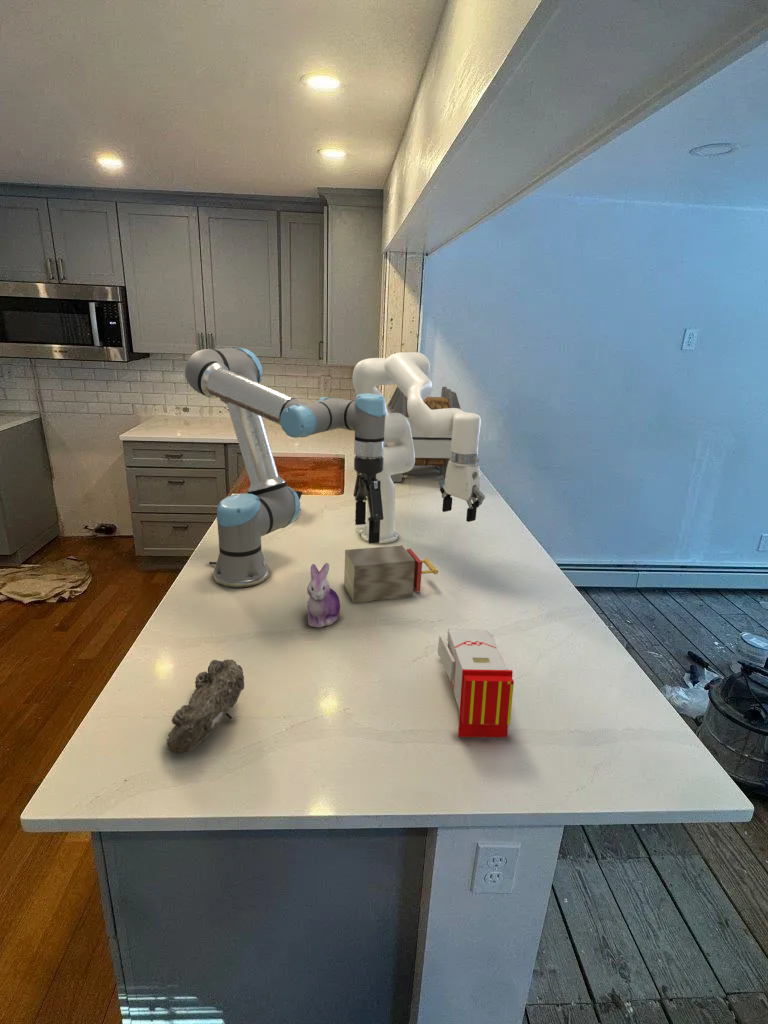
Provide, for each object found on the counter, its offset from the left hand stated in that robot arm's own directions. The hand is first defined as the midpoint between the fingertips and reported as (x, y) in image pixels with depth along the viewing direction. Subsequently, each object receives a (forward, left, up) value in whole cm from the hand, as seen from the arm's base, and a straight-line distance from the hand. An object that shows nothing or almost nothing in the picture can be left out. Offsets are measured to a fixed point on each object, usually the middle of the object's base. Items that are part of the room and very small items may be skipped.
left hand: (366, 533), depth 152 cm
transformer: (+4, +126, -18) cm, 127 cm away
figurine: (-8, -17, -18) cm, 26 cm away
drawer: (+9, +4, -17) cm, 19 cm away
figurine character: (-38, +54, -18) cm, 69 cm away
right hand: (+24, +16, +2) cm, 29 cm away
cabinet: (+3, +2, -18) cm, 18 cm away
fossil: (-19, -56, -18) cm, 62 cm away
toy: (+29, -38, -18) cm, 51 cm away
